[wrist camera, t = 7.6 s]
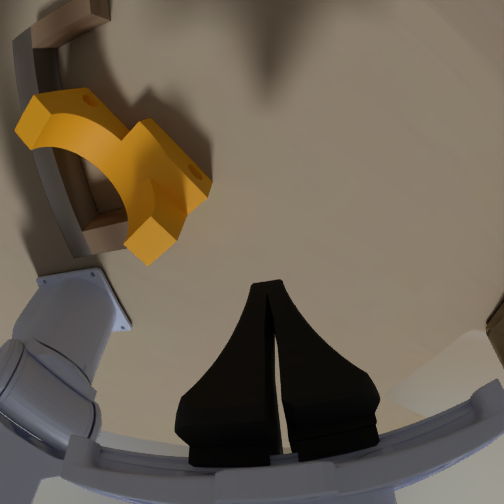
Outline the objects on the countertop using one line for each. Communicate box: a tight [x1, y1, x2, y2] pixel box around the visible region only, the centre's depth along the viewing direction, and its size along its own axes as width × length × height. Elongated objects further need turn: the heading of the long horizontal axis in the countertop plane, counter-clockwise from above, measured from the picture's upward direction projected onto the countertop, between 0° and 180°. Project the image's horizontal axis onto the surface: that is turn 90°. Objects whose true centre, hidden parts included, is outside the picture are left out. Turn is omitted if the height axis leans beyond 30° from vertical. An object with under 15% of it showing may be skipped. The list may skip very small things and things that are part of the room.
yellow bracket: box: [14, 87, 213, 266], centre depth 15 cm, size 12×4×6 cm, turn 39°
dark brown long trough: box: [13, 0, 128, 258], centre depth 15 cm, size 7×18×3 cm, turn 9°
